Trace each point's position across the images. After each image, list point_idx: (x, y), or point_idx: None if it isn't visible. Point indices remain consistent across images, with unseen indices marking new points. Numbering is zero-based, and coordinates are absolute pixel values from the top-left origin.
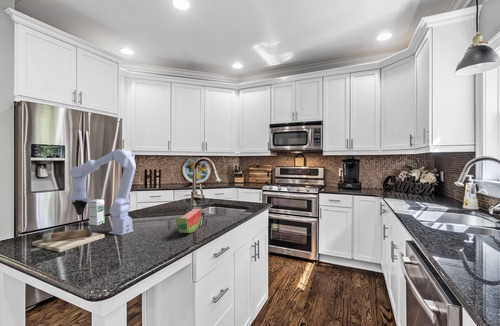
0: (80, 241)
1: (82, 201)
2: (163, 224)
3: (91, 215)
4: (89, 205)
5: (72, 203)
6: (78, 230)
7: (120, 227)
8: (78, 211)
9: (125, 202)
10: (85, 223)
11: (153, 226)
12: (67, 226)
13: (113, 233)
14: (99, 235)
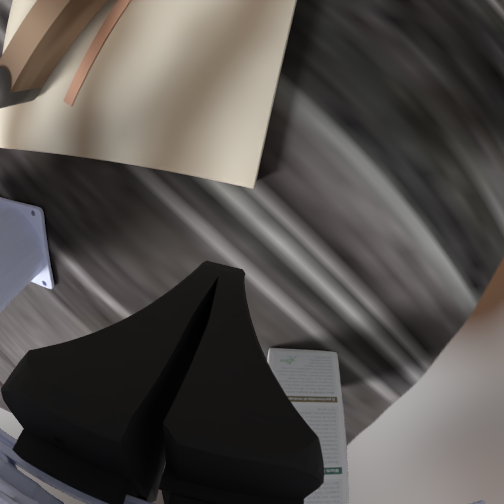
0: (16, 6)
1: (26, 444)
2: (5, 347)
3: (318, 407)
4: (339, 484)
5: (296, 435)
6: (30, 29)
7: None
8: (179, 284)
9: None
10: (387, 368)
11: (4, 326)
12: (463, 303)
13: (11, 201)
14: (3, 121)
